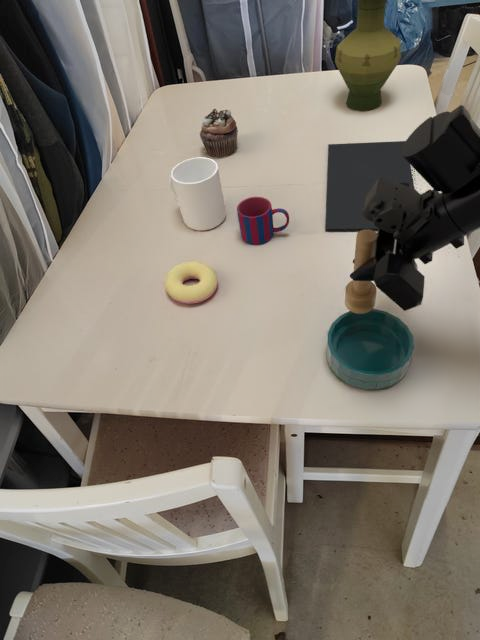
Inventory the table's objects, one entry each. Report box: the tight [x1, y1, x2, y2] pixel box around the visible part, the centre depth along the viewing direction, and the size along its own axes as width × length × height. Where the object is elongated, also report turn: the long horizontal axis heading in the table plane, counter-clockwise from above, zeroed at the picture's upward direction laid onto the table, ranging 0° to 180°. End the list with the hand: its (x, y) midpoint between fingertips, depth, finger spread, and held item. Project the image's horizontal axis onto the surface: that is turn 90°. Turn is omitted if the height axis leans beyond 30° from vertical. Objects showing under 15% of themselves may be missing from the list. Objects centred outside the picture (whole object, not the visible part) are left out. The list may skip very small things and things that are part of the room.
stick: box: [344, 229, 378, 314], centre depth 62 cm, size 4×4×13 cm
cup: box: [236, 196, 290, 246], centre depth 87 cm, size 7×10×7 cm
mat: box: [324, 140, 415, 233], centre depth 96 cm, size 18×32×1 cm, turn 172°
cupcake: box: [199, 108, 239, 159], centre depth 110 cm, size 10×10×10 cm
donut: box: [164, 260, 219, 305], centre depth 82 cm, size 10×5×9 cm
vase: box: [334, 0, 402, 112], centre depth 109 cm, size 16×16×30 cm
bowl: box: [326, 308, 415, 390], centre depth 67 cm, size 12×12×4 cm
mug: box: [169, 156, 227, 231], centre depth 92 cm, size 10×12×12 cm
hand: (353, 270), depth 62 cm, fingers closed on stick, 2 cm apart
